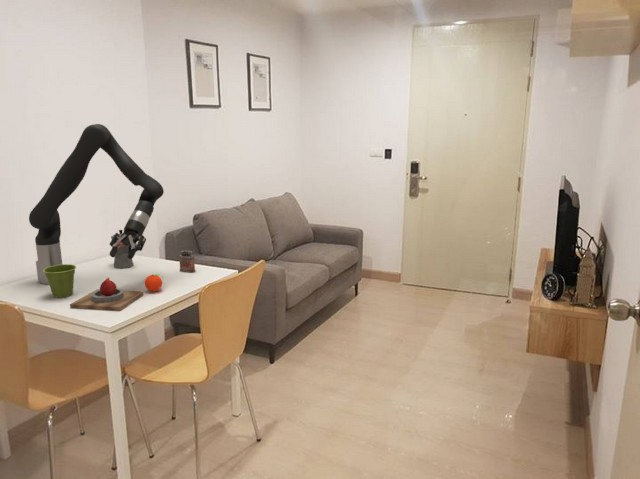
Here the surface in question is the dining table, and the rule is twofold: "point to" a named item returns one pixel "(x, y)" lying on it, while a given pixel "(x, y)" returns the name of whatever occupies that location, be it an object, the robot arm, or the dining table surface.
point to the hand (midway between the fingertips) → (120, 257)
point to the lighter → (187, 262)
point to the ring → (113, 298)
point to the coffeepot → (122, 256)
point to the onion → (107, 287)
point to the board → (113, 306)
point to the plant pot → (61, 279)
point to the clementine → (153, 282)
